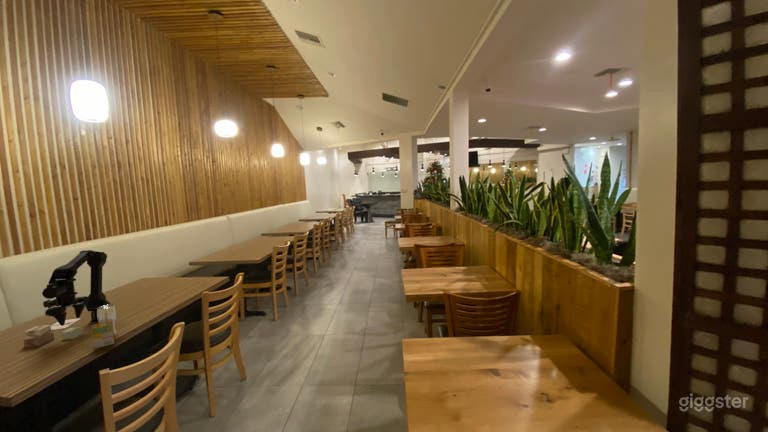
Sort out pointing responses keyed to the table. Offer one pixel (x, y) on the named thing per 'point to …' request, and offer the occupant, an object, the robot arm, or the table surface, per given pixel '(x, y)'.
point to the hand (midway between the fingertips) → (70, 321)
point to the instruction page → (67, 323)
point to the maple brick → (38, 332)
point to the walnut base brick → (39, 340)
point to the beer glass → (107, 315)
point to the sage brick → (71, 333)
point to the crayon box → (103, 334)
